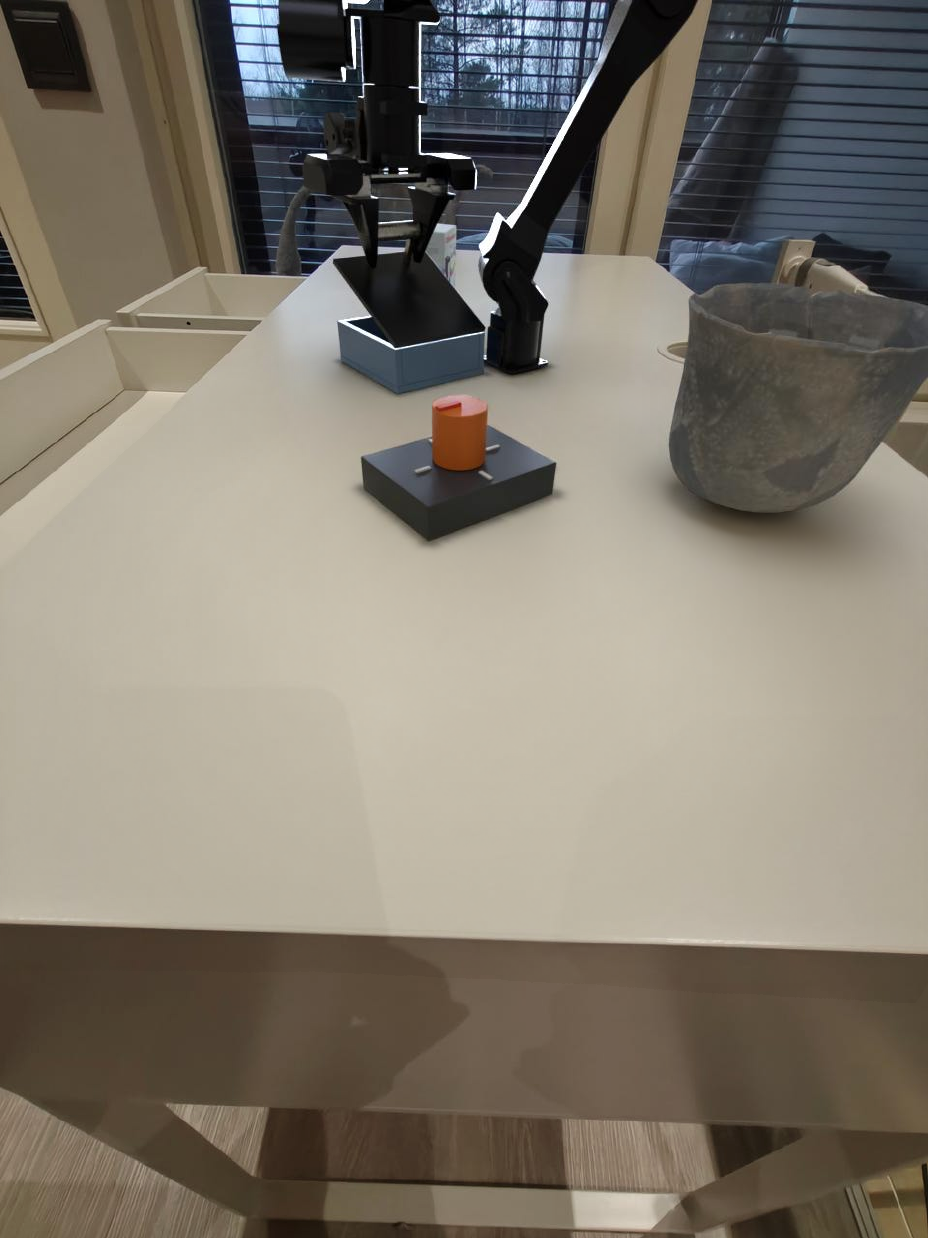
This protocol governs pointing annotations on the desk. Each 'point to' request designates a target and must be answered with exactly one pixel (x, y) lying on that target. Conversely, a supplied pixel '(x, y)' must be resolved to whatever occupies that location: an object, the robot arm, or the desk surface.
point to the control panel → (456, 483)
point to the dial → (459, 432)
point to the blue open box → (408, 356)
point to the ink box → (444, 250)
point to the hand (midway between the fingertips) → (395, 264)
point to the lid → (408, 292)
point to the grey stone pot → (790, 391)
